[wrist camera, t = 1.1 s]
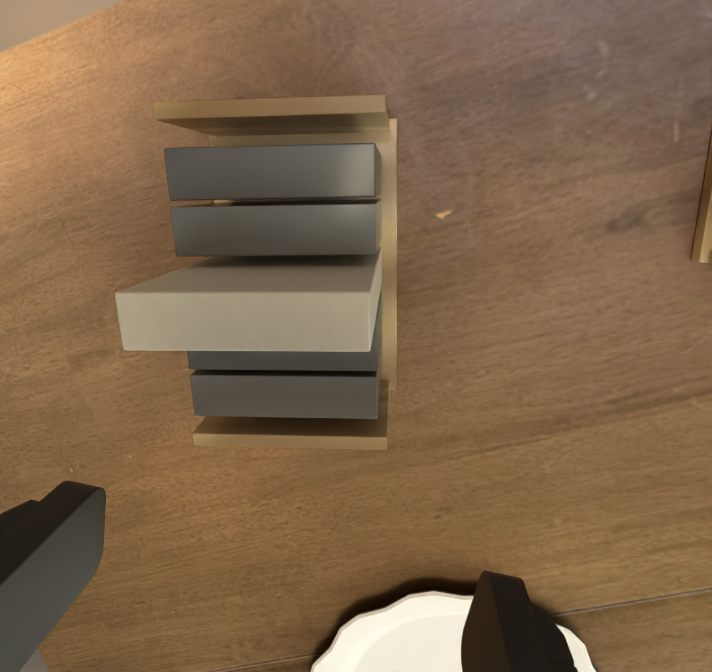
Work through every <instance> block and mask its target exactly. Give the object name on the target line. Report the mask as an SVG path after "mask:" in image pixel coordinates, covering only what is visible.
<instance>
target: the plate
mask: <svg viewBox="0 0 712 672" xmlns="http://www.w3.org/2000/svg"><path fill="white" fill-rule="evenodd" d="M473 597H474V594H466V595H463V594H457V593H451V592H445V591H440V590H434V589H433V590H427V591H420V592H413V593H408V594H407V595H405V596H403V597H401V598H399V599H397V600H396V601H394V602H392V603H390V604H388V605H387V606H385V607H381V608H377V609H373V610H369V611H366V612H362V613H358V614H357V615H355V616H354V617H352V618H351V619H350V620H348V621H347V622H346V623H344V624H343V625H342V626H341V627H340V628H339V630H338V632H337V634H336V636H335V638H334V640H333V642H332V644H331V646H330V647H329V648H328V649H327V650H326V651H325V652H324V653H323V654H322V655H321V656H320V657H319V658H318V659H316V660H315V661H314V662H313V665H312V668H311V671H310V672H462V665H461V640H462V633H463V628H464V625H465V622H466V619H467V616H468V612H469V609H470V606H471V603H472V600H473ZM555 624H556V625H557V626H558V628H559V629H560V630H561V632H562V633H563V634H564V636H565V638H566V641H567V643H568V646H569V649H570V652H571V654H572V657H573V660H574V667H576V668H577V670H578V672H597V671H596V670H595V669H594V667H593V666H592V664H591V661H590V658H589V655H588V652H587V650H586V647H585V644H584V643H583V642H582V641H581V640H580V639H579V638H578V637H577V636H576V635H575V634H574V633H573V632H572V631H571V630H570V629H569V628H567V627H565V626H563V625H560V624H558V623H555Z"/></svg>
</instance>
